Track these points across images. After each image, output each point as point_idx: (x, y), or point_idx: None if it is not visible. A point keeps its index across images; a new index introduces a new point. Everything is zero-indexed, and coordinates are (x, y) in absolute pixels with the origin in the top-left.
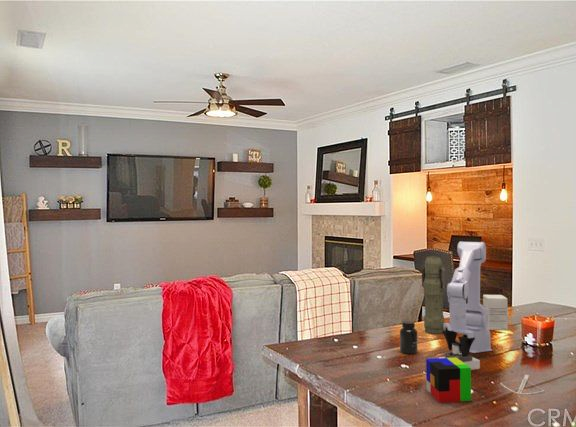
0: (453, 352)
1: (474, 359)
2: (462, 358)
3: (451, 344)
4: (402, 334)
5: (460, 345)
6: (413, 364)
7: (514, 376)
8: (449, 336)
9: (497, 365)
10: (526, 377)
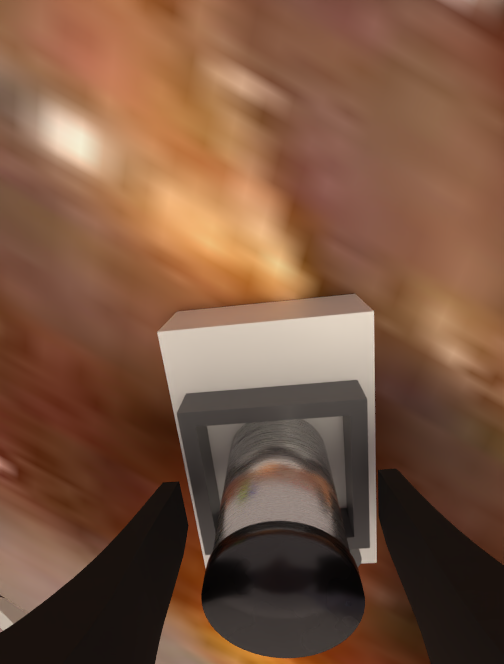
0: (269, 455)
1: None
2: (188, 467)
3: (402, 538)
4: None
5: (205, 575)
6: (469, 81)
7: None
8: (456, 634)
9: None
10: (6, 627)
